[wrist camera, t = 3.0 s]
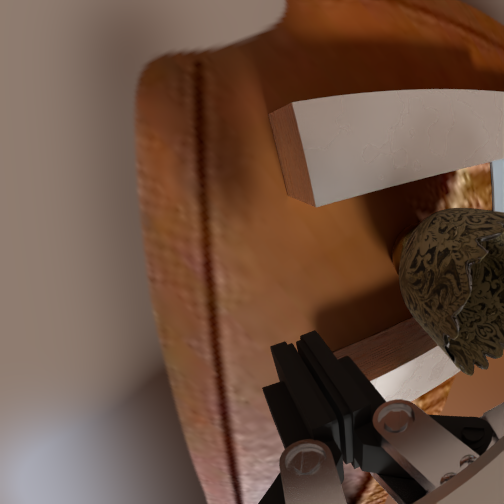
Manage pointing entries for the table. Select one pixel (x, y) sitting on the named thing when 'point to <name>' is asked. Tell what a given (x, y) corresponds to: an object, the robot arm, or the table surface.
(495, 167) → the tray
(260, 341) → the table surface
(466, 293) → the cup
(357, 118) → the groove rails
